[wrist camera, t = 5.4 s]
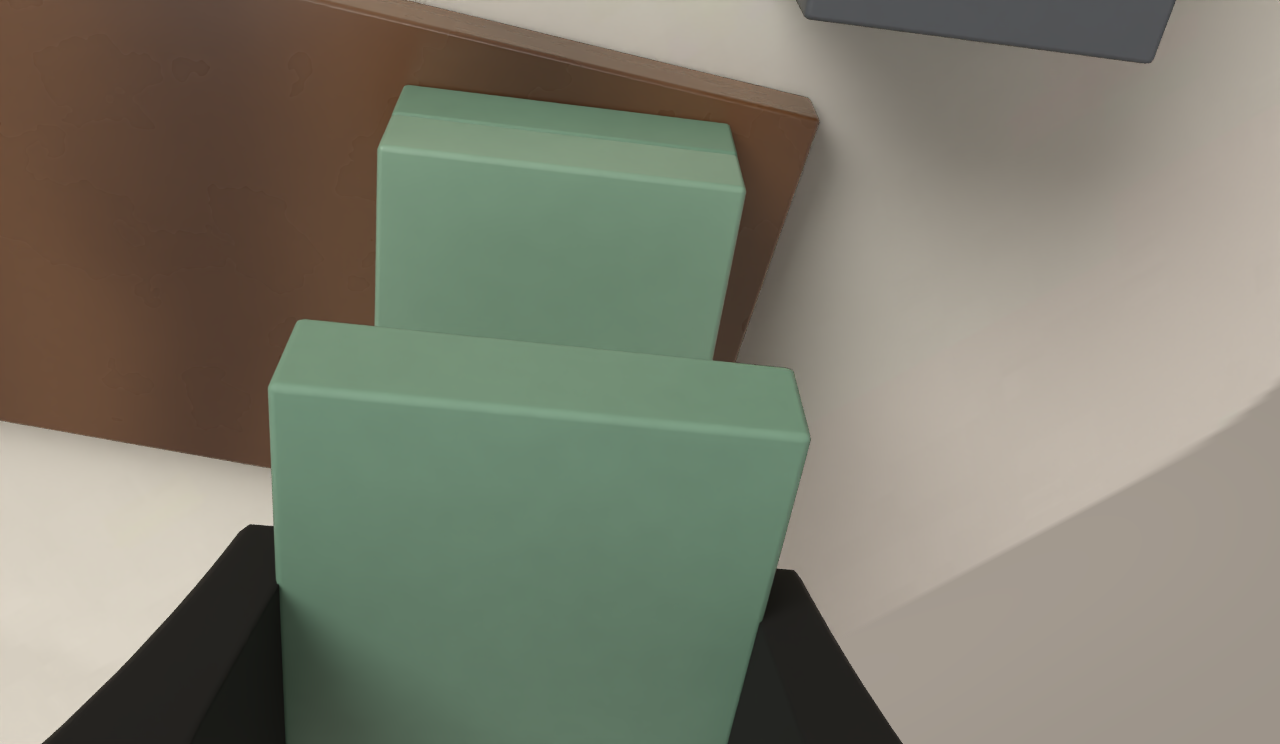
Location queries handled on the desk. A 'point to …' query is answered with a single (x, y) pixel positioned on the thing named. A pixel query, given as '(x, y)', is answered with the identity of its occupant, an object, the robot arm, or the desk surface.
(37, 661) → the desk surface
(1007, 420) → the desk surface
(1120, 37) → the grey books
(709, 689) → the sage book
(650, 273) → the green flat block
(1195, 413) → the desk surface
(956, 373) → the desk surface
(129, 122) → the book ledge
